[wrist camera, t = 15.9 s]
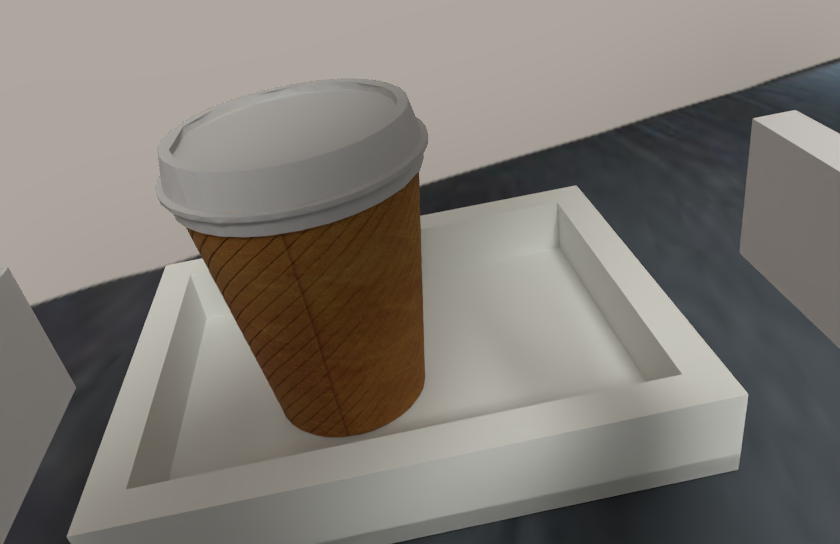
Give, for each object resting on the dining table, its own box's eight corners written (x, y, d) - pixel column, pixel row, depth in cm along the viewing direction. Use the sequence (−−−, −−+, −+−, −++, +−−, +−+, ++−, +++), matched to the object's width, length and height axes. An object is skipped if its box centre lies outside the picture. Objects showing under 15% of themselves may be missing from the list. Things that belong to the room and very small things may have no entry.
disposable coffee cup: (318, 308, 35) (254, 76, 29) (494, 335, 31) (464, 72, 25) (197, 440, 28) (78, 171, 22) (404, 497, 24) (331, 187, 18)
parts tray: (578, 242, 39) (576, 185, 37) (738, 469, 24) (748, 394, 22) (187, 319, 38) (166, 265, 36) (109, 603, 23) (66, 537, 21)
